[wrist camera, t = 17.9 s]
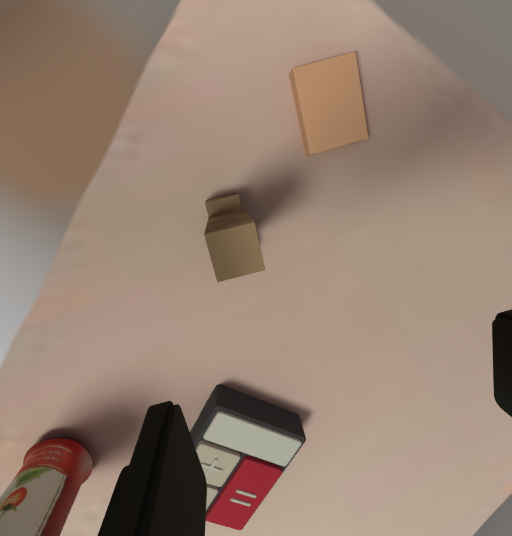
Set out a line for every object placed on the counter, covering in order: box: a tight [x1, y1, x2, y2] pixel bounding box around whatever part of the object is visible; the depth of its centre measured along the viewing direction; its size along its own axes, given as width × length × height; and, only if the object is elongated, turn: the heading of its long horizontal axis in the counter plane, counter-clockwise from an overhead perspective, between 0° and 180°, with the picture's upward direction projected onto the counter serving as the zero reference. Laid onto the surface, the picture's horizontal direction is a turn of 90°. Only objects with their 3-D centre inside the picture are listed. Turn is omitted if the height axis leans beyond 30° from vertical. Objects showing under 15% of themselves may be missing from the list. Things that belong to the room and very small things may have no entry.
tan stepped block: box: [204, 193, 265, 282], centre depth 24 cm, size 3×6×12 cm, turn 13°
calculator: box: [190, 384, 306, 530], centre depth 35 cm, size 11×4×15 cm
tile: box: [289, 52, 369, 156], centre depth 28 cm, size 2×7×6 cm
